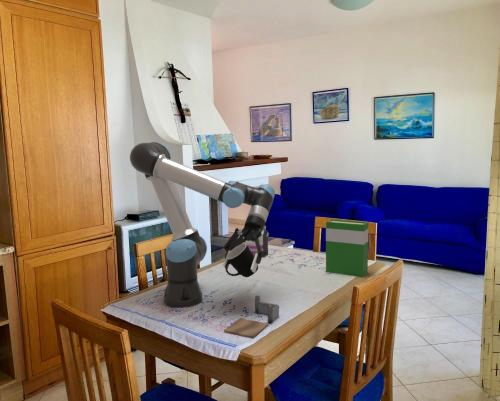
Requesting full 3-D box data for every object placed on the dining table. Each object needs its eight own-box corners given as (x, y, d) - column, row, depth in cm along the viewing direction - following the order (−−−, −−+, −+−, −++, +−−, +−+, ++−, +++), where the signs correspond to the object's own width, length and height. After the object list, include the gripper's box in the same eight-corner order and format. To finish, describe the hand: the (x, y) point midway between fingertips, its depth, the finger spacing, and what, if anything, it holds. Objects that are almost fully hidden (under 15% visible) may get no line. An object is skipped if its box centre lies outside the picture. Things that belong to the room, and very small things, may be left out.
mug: (259, 260, 170) (244, 240, 168) (263, 269, 162) (247, 248, 159) (233, 278, 170) (218, 258, 168) (236, 288, 162) (220, 267, 159)
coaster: (224, 331, 147) (223, 330, 147) (240, 319, 156) (240, 317, 156) (253, 338, 142) (253, 336, 141) (268, 325, 151) (268, 323, 151)
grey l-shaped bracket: (246, 318, 157) (246, 302, 156) (256, 310, 164) (256, 295, 163) (271, 323, 152) (271, 307, 151) (280, 315, 159) (280, 299, 158)
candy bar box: (266, 255, 240) (266, 225, 238) (265, 257, 235) (264, 227, 233) (246, 254, 242) (245, 225, 240) (244, 257, 237) (243, 226, 235)
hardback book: (325, 271, 209) (326, 221, 205) (331, 267, 215) (331, 219, 211) (363, 277, 200) (363, 224, 196) (367, 272, 206) (368, 222, 203)
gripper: (286, 226, 172) (270, 277, 160) (234, 223, 182) (215, 270, 171) (280, 215, 166) (264, 267, 155) (227, 212, 177) (207, 260, 165)
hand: (238, 269), depth 163 cm, fingers closed on mug, 11 cm apart
